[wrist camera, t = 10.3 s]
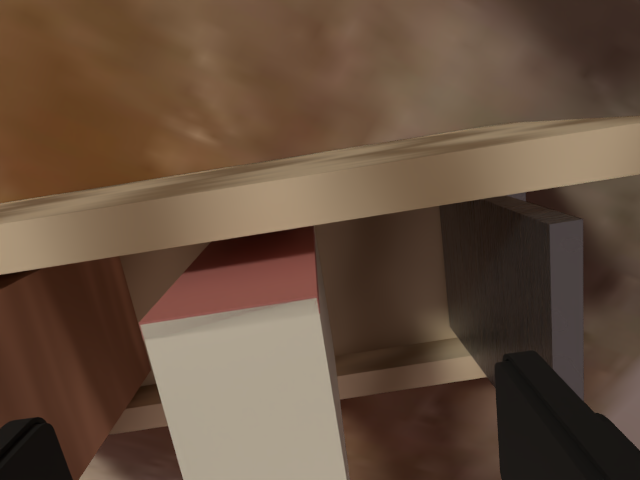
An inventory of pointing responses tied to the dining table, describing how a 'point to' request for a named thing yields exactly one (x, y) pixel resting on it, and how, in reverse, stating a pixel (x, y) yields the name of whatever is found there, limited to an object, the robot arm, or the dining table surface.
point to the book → (250, 362)
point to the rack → (256, 218)
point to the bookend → (515, 282)
